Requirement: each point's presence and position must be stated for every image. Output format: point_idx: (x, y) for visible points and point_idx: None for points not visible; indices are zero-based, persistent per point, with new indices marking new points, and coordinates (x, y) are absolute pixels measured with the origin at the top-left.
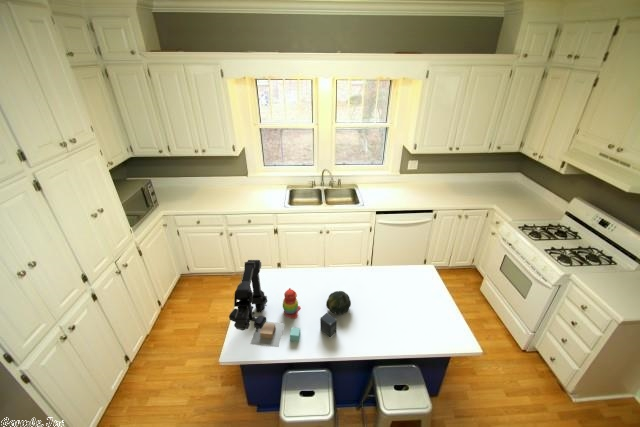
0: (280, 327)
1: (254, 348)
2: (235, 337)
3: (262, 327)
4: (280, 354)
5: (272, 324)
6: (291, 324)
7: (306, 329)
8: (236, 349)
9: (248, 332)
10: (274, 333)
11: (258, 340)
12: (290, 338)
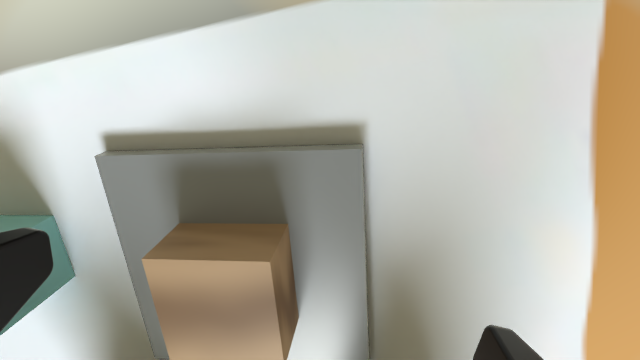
0: None
1: (309, 114)
2: (547, 206)
3: (270, 322)
4: (62, 93)
5: (191, 355)
6: (120, 349)
7: None
8: (496, 72)
9: (428, 266)
10: None
11: (294, 195)
12: None
